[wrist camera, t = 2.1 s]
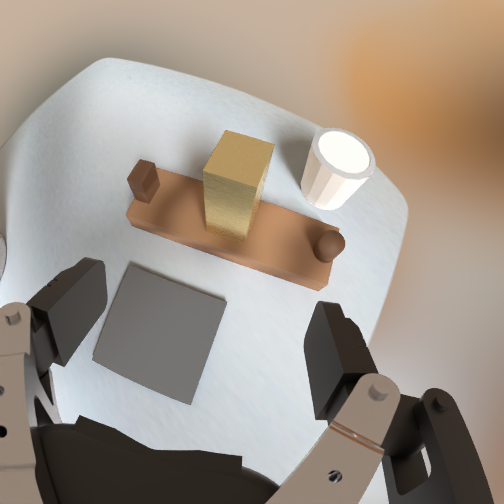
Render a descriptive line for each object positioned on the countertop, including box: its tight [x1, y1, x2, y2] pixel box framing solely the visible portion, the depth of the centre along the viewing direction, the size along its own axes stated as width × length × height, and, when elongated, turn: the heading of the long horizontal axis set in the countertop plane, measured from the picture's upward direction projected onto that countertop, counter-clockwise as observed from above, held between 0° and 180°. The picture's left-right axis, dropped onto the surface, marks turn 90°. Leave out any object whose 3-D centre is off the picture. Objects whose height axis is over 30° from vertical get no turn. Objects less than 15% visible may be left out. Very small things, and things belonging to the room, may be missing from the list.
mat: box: [92, 265, 227, 405], centre depth 24 cm, size 10×10×1 cm
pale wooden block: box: [203, 130, 275, 245], centre depth 22 cm, size 4×4×9 cm
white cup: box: [300, 127, 375, 210], centre depth 28 cm, size 7×7×7 cm
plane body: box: [126, 159, 345, 291], centre depth 26 cm, size 20×6×6 cm, turn 72°
